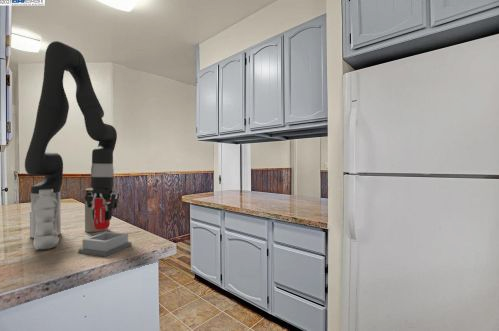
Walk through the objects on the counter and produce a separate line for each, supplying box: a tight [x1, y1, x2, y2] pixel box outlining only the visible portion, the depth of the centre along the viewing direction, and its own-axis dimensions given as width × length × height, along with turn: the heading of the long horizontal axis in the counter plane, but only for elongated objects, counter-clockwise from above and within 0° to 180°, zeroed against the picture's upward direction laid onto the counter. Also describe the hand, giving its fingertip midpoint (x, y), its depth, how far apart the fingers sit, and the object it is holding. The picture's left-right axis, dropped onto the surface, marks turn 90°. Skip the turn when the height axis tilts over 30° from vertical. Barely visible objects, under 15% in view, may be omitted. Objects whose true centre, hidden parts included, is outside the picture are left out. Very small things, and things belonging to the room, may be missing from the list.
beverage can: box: [94, 197, 111, 231], centre depth 98 cm, size 5×5×12 cm
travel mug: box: [84, 187, 106, 233], centre depth 110 cm, size 8×8×18 cm
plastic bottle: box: [33, 189, 60, 250], centre depth 86 cm, size 6×7×20 cm
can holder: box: [78, 231, 132, 257], centre depth 86 cm, size 11×11×4 cm
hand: (102, 219), depth 98 cm, fingers closed on beverage can, 5 cm apart
